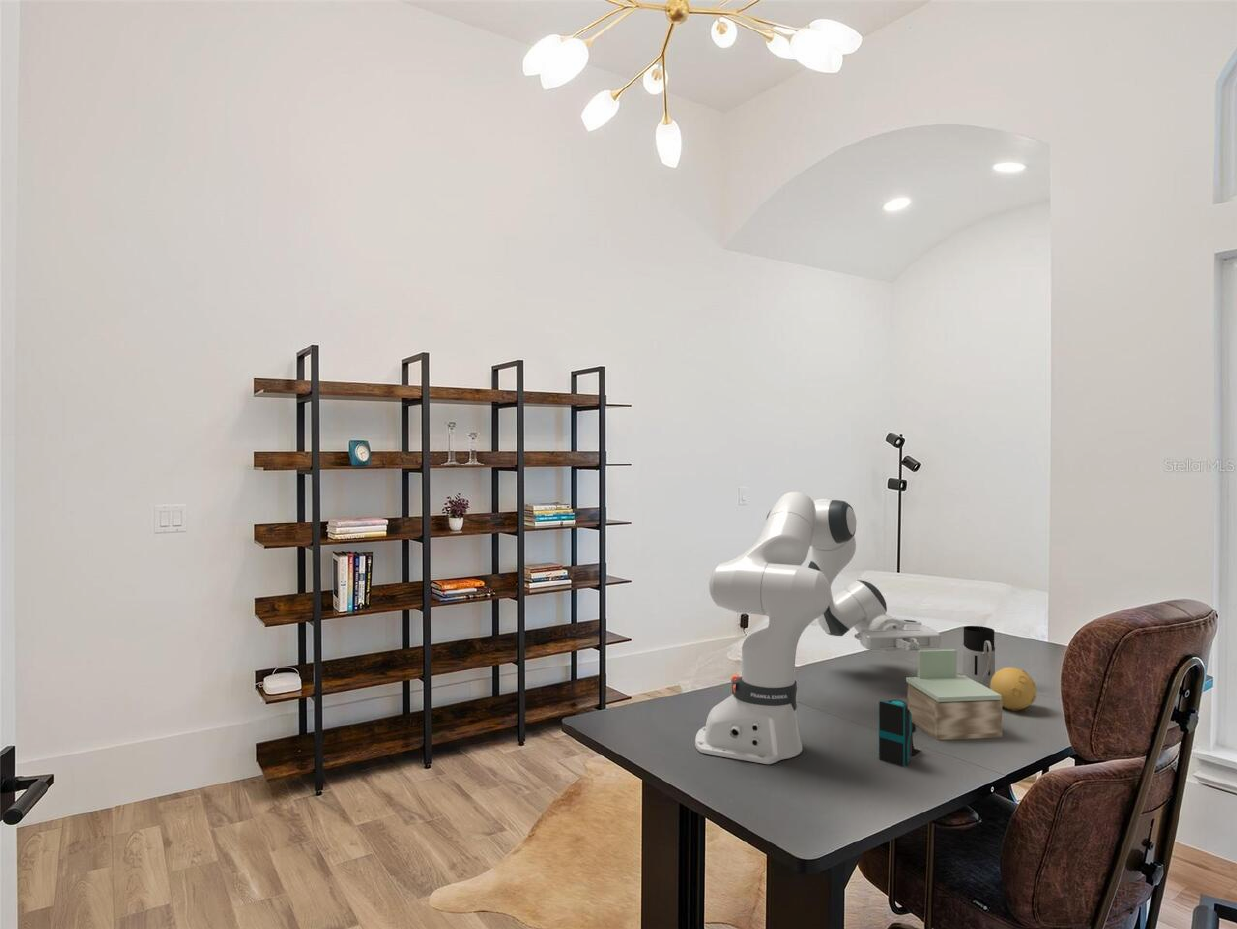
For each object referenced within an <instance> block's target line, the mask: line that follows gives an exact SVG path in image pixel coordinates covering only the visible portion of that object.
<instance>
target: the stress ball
mask: <svg viewBox="0 0 1237 929" xmlns="http://www.w3.org/2000/svg"><path fill="white" fill-rule="evenodd" d="M990 688H991V690H993V691H995V692H996V693H998V694H1000V695H1002V699H1001V701H1002V707H1005V708H1006V709H1007V710H1008V711H1009V710H1010V711H1013V712H1015V711H1019V710H1022V709H1026V708H1027V707H1029V706H1030V705H1031V704H1034V702H1035V700H1036V698H1037V695H1036V694H1037V688H1036V683H1035V681H1034V679H1033V677H1032V676H1030V675H1029V674H1028V672H1026V670H1023V669H1020V668H1019V667H1018V668H1017V667H1008V666H1007V667H1003V668H1001V669H999V670H997V671H995V674H994V675H993V677H992V679H991V683H990Z"/></svg>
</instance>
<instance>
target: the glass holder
mask: <svg viewBox="0 0 1237 929" xmlns="http://www.w3.org/2000/svg"><path fill="white" fill-rule="evenodd" d="M995 673H996V647H995V629H994V628H991V627H986V626H980V625H979V626H978V625H967V626H964V627H963V642H962V676H966V677H968V678H970V679H972V680H974V681H976V682H978V683H980V684H981V685H983V686H985V687H987V688H989V689H991V688H990V683H991V679H992V677H993V675H994V674H995Z"/></svg>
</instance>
